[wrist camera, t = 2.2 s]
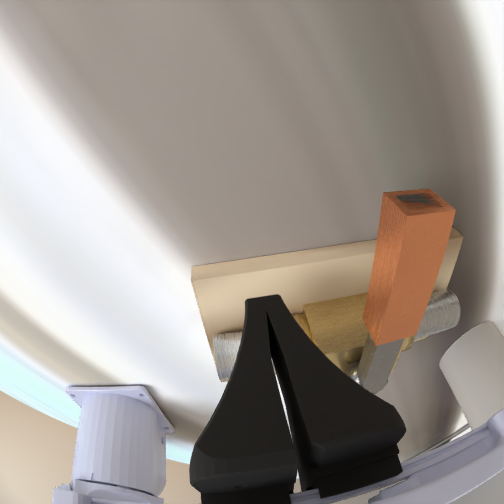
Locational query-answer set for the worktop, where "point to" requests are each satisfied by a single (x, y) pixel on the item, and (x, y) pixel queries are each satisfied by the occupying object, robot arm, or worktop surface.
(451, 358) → the cup
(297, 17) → the worktop surface
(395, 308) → the valve lever
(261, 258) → the mount board
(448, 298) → the valve pipe
